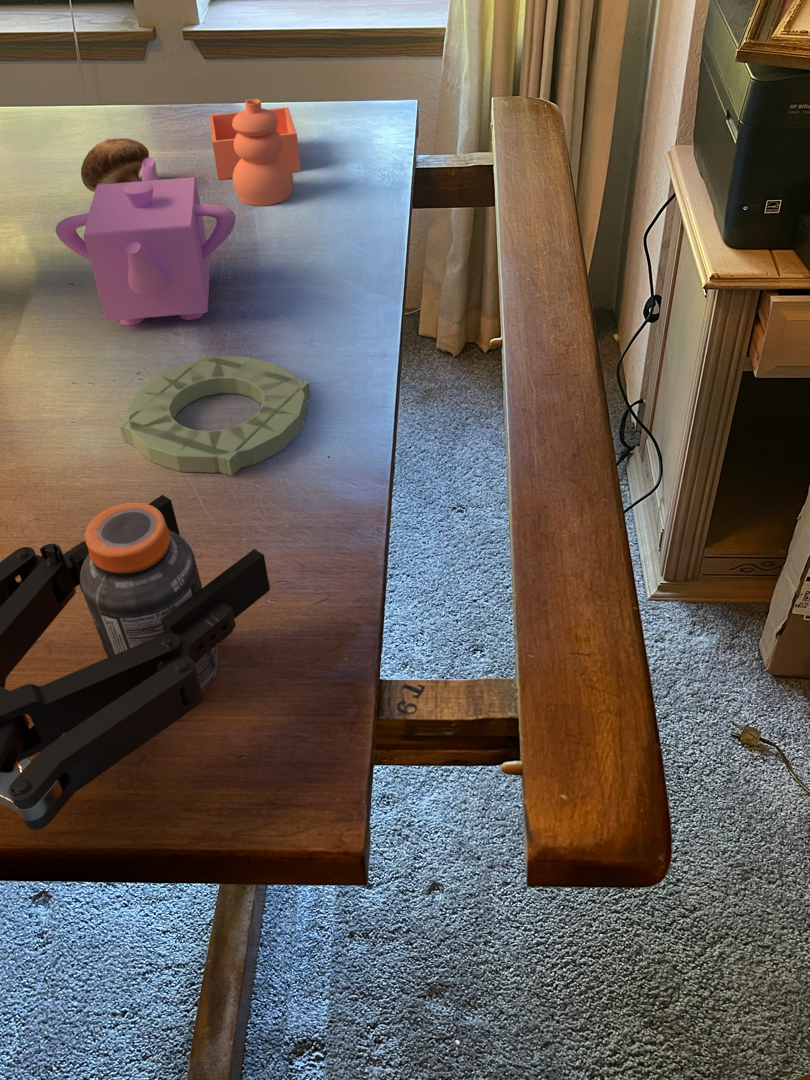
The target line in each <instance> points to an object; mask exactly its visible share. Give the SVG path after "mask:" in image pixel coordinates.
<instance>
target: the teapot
mask: <svg viewBox="0 0 810 1080" xmlns="http://www.w3.org/2000/svg"><path fill="white" fill-rule="evenodd" d="M203 217H210V218H214V219H215V220H216V225H215V226H214V229H213V231H212V232H211V234H210V236H209V237H208V239H207V233H206V229H205V228H206V227H205V223H204V218H203ZM235 225H236V214H235V212H234V211H233V210H232V209H231V208H229V207H227V206H224V205H220V204H209V203H202V204H201V201H200V196H199V189H198V185H197V178H196V177H195V176H192V177H181V178H180V177H179V178H165V179H159V177H158V172H157V164H156V161H155V159H154V157H149V158H146V159H144V161H143V162H142V168H141V181H139V182H126V183H114V184H101V185H97V187H96V190H95V192H94V194H93V198H92V200H91V204H90V209H89V211H88V212H87V213H81V214H76V215H71V216H68V217H66V218H64V219H62V220H60V221H59V222H58V223H57V224H56V226H55V234H56V236H57V238H58V239H59V240H60V241H61V242H62V243H63V245H64V246H65V247H67V248H68V249H70V250H71V251H72V252H74V253H75V254H77V255H79V256H80V257H82V258H84V259H86V260H88V261H89V262H90V266H91V270H92V273H93V277H94V281H95V285H96V288H97V291H98V295H99V300H100V303H101V307H102V310H103V314H104V318H105V321H106V322H113V321H119V322H120V324H121V325H123V326H135V325H138V324H141V323H142V322H143V321H144V320H145V319H147V318H159V317H170V316H179V318H181V319H182V320H185V321H192V320H197V319H200V318H201V317H202V316H204V314H205V313H208V311H209V292H210V291H209V290H210V271H211V270H210V268H211V257H210V255H211V254H212V253H213V252H214V251H215V250H216V249H217V248H218V247H220V245H222V244H223V242H224V241H226V239H228V237H229V236H230V235H231V233H232V231H233V229H234V227H235ZM81 227H84V232H83V236H82V237H83V238H82V237H81V236H80V235H79V234H78V232H77V229H79V228H81Z"/></svg>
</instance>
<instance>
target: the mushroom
mask: <svg viewBox="0 0 810 1080" xmlns="http://www.w3.org/2000/svg"><path fill="white" fill-rule="evenodd" d="M146 158H150V152H149V150H148V148H147V147H146V146H145V144H143V143H141V142H139V141H138V140H135V139H131V138H127V137H126V138H125V137H124V138H123V137H121V138H107V139H105V140H103V141H101V142H99V143H97V144H95V145H94V146H93V148H91V149H90V150H89V151H88V153H87V154H86V156H85V157H84V158H83V160H82V161H83V162H82V165H81V168H80V170H81V171H80V177H81V181H82V183H83V186H85V188H86V189H87V190H89V191H91V192H92V193H95V190H96V187H97V185H101V184H114V183H126V182H139V181H142V178H140V173H141V171H142V162H143V161H144V159H146Z"/></svg>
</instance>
